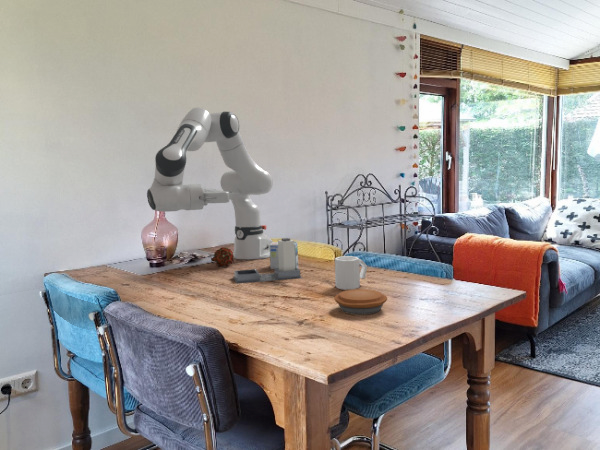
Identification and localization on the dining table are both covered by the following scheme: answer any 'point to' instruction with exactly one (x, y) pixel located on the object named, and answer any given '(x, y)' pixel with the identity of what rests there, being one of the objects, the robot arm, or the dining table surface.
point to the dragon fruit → (223, 257)
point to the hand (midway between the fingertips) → (235, 194)
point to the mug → (349, 272)
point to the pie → (360, 301)
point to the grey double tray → (264, 275)
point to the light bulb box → (274, 255)
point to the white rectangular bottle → (286, 254)
